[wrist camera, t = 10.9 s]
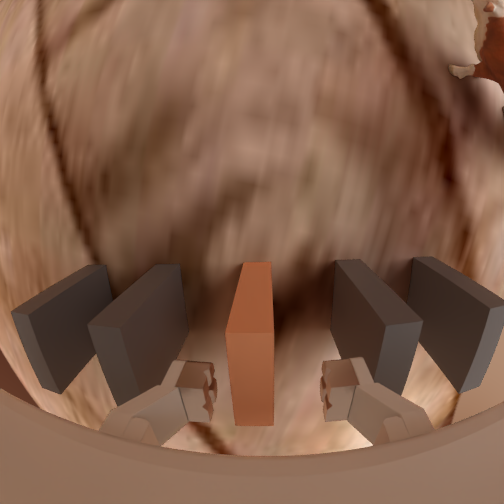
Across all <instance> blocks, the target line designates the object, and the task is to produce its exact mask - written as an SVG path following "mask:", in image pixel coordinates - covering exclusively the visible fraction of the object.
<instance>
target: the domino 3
mask: <svg viewBox="0 0 504 504" xmlns="http://www.w3.org/2000/svg"><path fill="white" fill-rule="evenodd" d="M225 339H226V349H227V358H228V367H229V377H230V385H231V394H232V402H233V410H234V418H235V425H236V426H274V318H273V296H272V274H271V262H246V263H243V267H242V271H241V274H240V278H239V282H238V286H237V289H236V293H235V297H234V301H233V305H232V308H231V312H230V316H229V320H228V323H227V327H226V331H225Z"/></svg>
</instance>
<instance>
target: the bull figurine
mask: <svg viewBox="0 0 504 504" xmlns="http://www.w3.org/2000/svg"><path fill="white" fill-rule="evenodd" d="M471 1H472V2H473V4H474V13H475V17H476V19H477V22H478V25H477V28H476V30H475V33H474V41H475V51H476V53H477V57H478V59H479V61H480V63H479V64H477V65H475V64H471V65H470V66H468V67H459V66H456V65H453V64H450V65H449V66H448V69H449V72H450V73H451V74H452V75H453V76H458V77H459V78H460V79H462V78H464V77H465V76H468V75H471V76H474V77H480V78H486V79H490V80H493V81H495V82H497V83H499V85H500V87H501V89H502V91H503V93H504V0H471ZM503 112H504V107H503Z"/></svg>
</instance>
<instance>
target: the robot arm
mask: <svg viewBox="0 0 504 504" xmlns="http://www.w3.org/2000/svg"><path fill="white" fill-rule="evenodd" d="M214 372H215V370H214V365H213V363H211V362H197V361H184V360H174V361H173V362H172V364H171V366H170V368H169V370H168V372H167V374H166V376H165V378H164V380H163V382H162V384H161V386H160V385H156V386H155V387H153V388H151V389H149V390H148V391H146V392H144V393H142V394H141V395H139V396H137V397H135V398H133V399H131V400H130V401H128V402H126V403H124V404H122V405H120V406H118V407H117V408H115V409H113V410H111V411H110V413H109V414H108V416H107V417H106V419H105V421H104V422H103V424H102V426H101V427H100V429H99V431H97V430H94V429H91V428H88V427H85V426H82V425H79V424H76V423H73V422H71V421H68V420H66V419H63V418H60V417H58V416H56V415H53V414H51V413H48V412H46V411H44V410H42V409H39V408H37V407H35V406H33V405H31V404H29V403H27V402H25V401H22V400H21V399H19V398H17V397H15V396H13V395H11V394H9V393H8V392H6V391H4V390H3V389H1V388H0V504H504V402H502V403H500V404H498V405H496V406H494V407H491V408H489V409H487V410H485V411H483V412H481V413H478V414H476V415H474V416H471V417H469V418H466V419H464V420H461V421H459V422H457V423H454V424H451V425H448V426H445V427H442V428H439V429H436V430H434V428H433V426H432V424H431V422H430V420H429V418H428V416H427V414H426V412H425V410H424V409H423V408H421V407H420V406H418V405H416V404H414V403H412V402H411V401H409V400H407V399H405V398H404V397H402V396H400V395H398V394H397V393H395V392H393V391H391V390H390V389H388V388H386V387H385V386H383V385H381V384H379V383H374V381H373V379H372V376H371V374H370V372H369V370H368V367H367V365H366V363H365V361H364V359H363V357H355V358H349V359H341V360H330V361H323V364H322V373H323V376H322V377H321V380H320V396H321V401H322V402H323V403H324V405H323V413H324V419H325V422H329V421H341V420H347V421H348V422H349V423H350V424H351V425H352V426H353V427H354V428H356V429H357V430H358V431H359V432H360V433H361V434H362V435H363V436H364V437H365V438H366V439H367V440H369V441H370V442H371V443H372V444H373V446H370V447H365V448H359V449H353V450H347V451H339V452H331V453H322V454H310V455H295V456H237V455H221V454H210V453H200V452H192V451H185V450H178V449H172V448H166V447H161V445H163V444H164V443H165V442H166V441H167V440H169V439H170V438H171V437H172V436H173V435H174V434H176V433H177V432H178V431H179V430H180V429H181V428H182V427H184V426H185V425H186V424H187V423H188V421H194V422H208V423H210V422H211V418H212V414H213V405H212V404H214V403H215V402H216V397H217V382H216V379H215V378H214V377H213V375H214Z"/></svg>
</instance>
